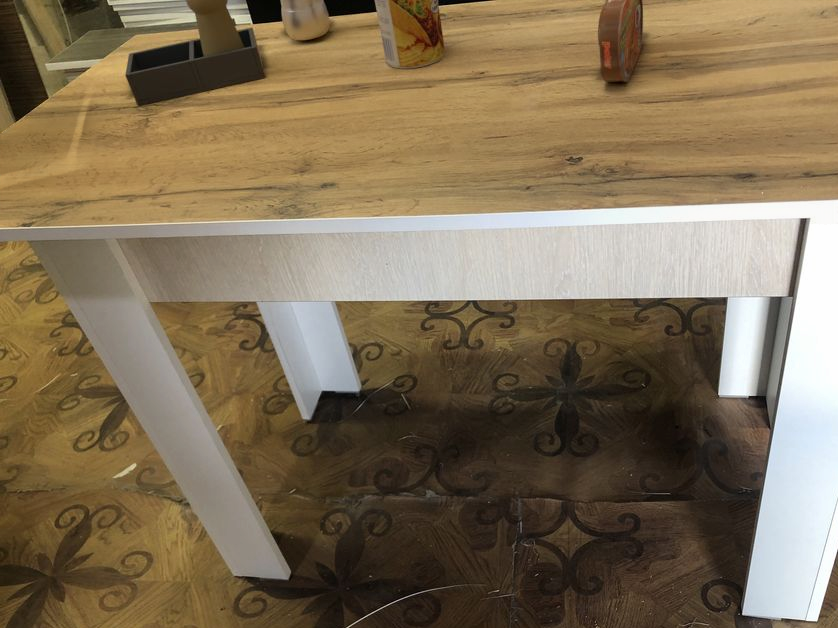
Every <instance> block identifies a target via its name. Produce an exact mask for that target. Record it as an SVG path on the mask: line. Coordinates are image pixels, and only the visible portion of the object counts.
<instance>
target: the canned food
mask: <svg viewBox="0 0 838 628" xmlns="http://www.w3.org/2000/svg"><path fill="white" fill-rule="evenodd" d="M374 4H375V9H376V16H377V19H378V26H379V31H380V36H381V42H382V46H383V53H384V57H385V61H386V64H387V65H388V66H389V67H392V68H395V69H402V70H403V69H404V70H405V69H407V70H409V69H417V68H418V69H419V68H422V67H426V66H430V65H432V64H434V63H437V62H439V61H441V60H442V59H443V58H444V57H445V54H446V50H445V42H444V35H443V26H442V19H441V13H440V6H439V0H374Z"/></svg>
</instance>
